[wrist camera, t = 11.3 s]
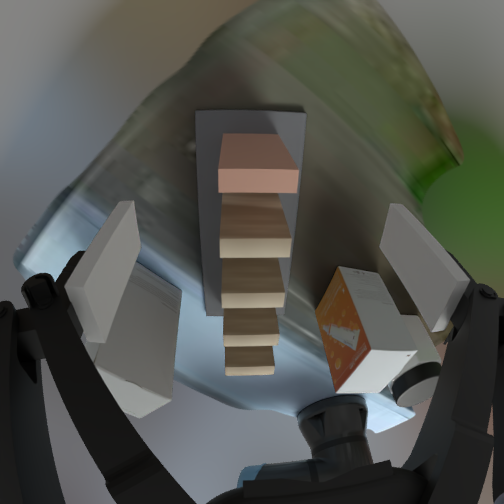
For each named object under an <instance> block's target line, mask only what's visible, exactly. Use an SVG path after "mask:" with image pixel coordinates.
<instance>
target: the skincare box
mask: <svg viewBox="0 0 504 504" xmlns="http://www.w3.org/2000/svg"><path fill="white" fill-rule="evenodd" d="M181 297H182V291H181V290H179V289H178V288H176V287H174V286H173V285H171V284H170V283H168V282H167V281H165V280H163V279H162V278H160V277H159V276H157V275H156V274H154V273H153V272H151V271H150V270H148V269H147V268H145V267H144V266H142V265H141V264H139V263H138V262H135V264H134V267H133V269H132V272H131V274H130V277H129V279H128V282H127V284H126V287H125V290H124V292H123V295H122V297H121V300H120V303H119V306H118V308H117V311H116V314H115V317H114V319H113V322H112V325H111V328H110V331H109V334H108V337H107V340H106V343H97V342H88V341H86V344H85V348H86V350H87V352H88V354H89V356H90V358H91V359H92V361H93V363H94V365H95V367H96V368H97V370H98V372H99V374H100V375H101V377H102V379H103V380H104V382H105V384H106V385H107V387H108V389H109V390H110V392H111V394H112V395H113V397H114V398H115V400H116V402H117V403H118V405H119V406H120V408H121V409H122V411H123V412H126V413H128V414H130V415H133V416H135V417H138V418H142V417H143V416H145V415H147V414H149V413H150V412H152V411H154V410H156V409H157V408H159V407H161V406H163V405H164V404H166V403H168V402H170V401H171V400H172V389H173V376H174V364H175V353H176V342H177V333H178V323H179V314H180V306H181Z"/></svg>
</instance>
